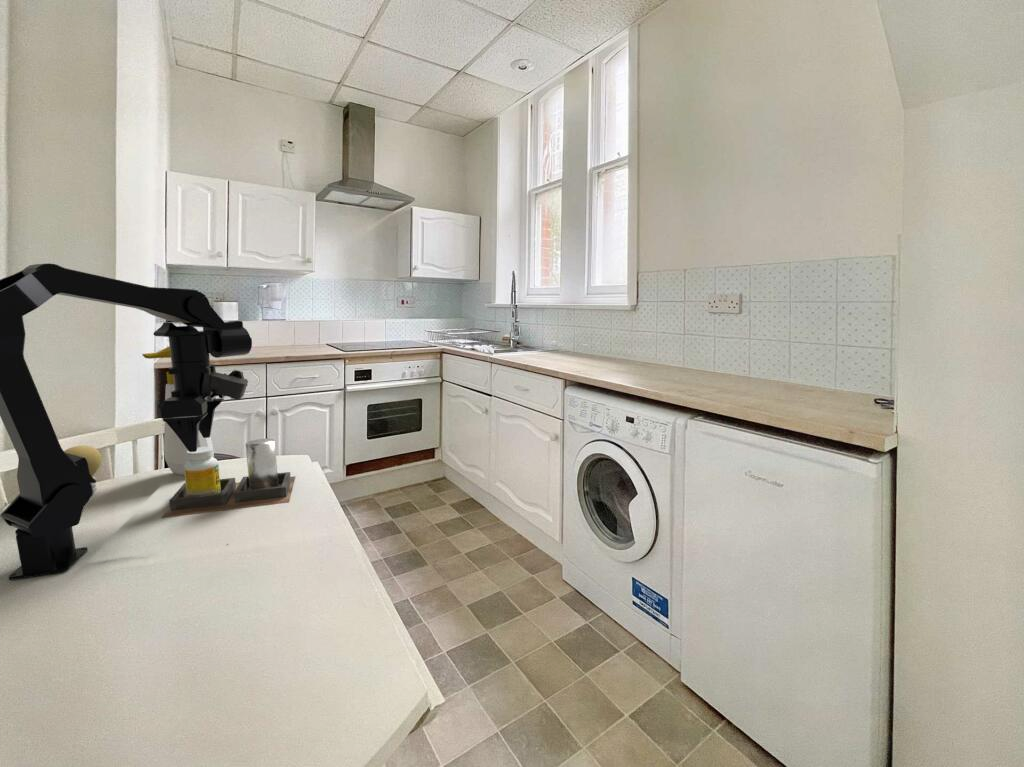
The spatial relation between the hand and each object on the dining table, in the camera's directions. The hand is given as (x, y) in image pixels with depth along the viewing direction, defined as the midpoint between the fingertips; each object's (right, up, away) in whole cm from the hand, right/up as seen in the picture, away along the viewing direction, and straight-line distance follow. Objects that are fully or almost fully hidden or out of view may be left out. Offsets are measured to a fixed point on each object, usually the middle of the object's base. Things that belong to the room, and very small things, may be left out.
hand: (200, 444), depth 87 cm
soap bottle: (-14, -10, +17) cm, 24 cm away
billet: (+9, -10, +5) cm, 15 cm away
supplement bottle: (0, -11, +2) cm, 11 cm away
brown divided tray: (+5, -12, +4) cm, 13 cm away
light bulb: (-27, -11, +7) cm, 30 cm away
